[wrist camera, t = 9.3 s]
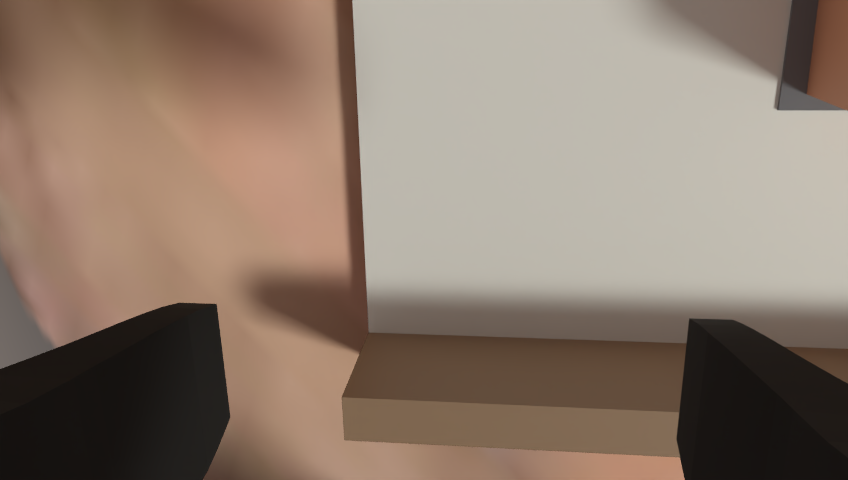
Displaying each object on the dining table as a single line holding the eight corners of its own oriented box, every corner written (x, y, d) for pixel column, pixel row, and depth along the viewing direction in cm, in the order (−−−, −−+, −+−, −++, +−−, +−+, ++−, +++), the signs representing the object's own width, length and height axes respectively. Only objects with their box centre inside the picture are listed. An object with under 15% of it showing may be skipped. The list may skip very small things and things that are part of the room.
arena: (1117, 388, 20) (1260, 486, 16) (374, 360, 22) (344, 440, 18) (1348, -332, 15) (1643, -441, 11) (344, -271, 17) (294, -343, 13)
